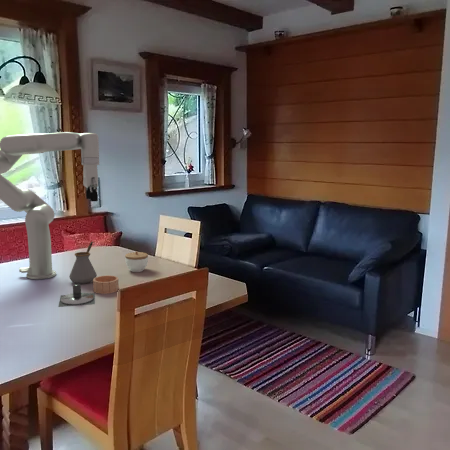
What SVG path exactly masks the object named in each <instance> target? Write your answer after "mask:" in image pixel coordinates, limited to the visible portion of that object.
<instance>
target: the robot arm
mask: <svg viewBox="0 0 450 450" xmlns="http://www.w3.org/2000/svg"><path fill="white" fill-rule="evenodd" d="M99 149H100V147H99V135H98V134H97V133H94V132H93V133H92V132H83V133H78V132H73V131H71V132H70V131H64V132H63V131H62V132H52V133H51V132H50V133H49V132H48V133H40V132H39V133H28V134H27V133H26V134H25V133H23V134H12V135H11V134H10V135H6V136H3V137H2V138H1V139H0V201H1V202H3V203H4V205H6V206H8V208H10V209H11V210H13V211H14V212H16V213H17V212H19V213H20V212H25V213H26V215H25V218H24V223H25V227H26V235H27V246H28V259H29V260H28V261H29V265H28V266H27V267H19V268H18V269H19V271H18V272H19V273H21V274H25V273H26V275H25V276H26V278H27V279H31V280H45V279H51V278H53V277H55V276H56V275H57V272H56V271H55V270H54V269H53V258H52V257H53V256H52V240H51V239H52V237H51V231H50V226H49V225H50V224H51V223H52V222H54V219H55V211H54V209H53V208H52V207H51V206H50V205H49V203H48V202H46V201H44V200H43V199H42V198H41V197H40V196H39V195H38V194H37V193H35V192H34V191H32V190H30V189H27V188H21V189H20V188H18V187H17V186H16V185H15V184H14V183H13V182H11V181H10V179H8V178H6V177H4V176H3V175H4V174H5V173H7V172H9V171H10V170H11V169H12V168H13V166H14V165H15V164H16V163H17V162H18V161H19V160H20V159H21V158H22V156H23V155H34V154H37V155H38V154H43V153H44V154H45V153H48V152H59V151H73V150H74V151H75V150H80V154H81V156H80V157H81V165H82V166H83V169H82V171H83V173H82V174H83V177H82V178H83V179H82V180H83V182H82V183H83V184H82V185H83V186H84V187H85V197H86V200H89V201H90V202H98V200H99V198H98V197H99V196H98V195H99V192H98V187H99V174H98V166H100V150H99Z"/></svg>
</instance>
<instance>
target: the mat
mask: <svg viewBox="0 0 450 450" xmlns="http://www.w3.org/2000/svg"><path fill="white" fill-rule="evenodd" d="M88 293H89V292H88ZM95 293H96V292H90V293H89V294H92V295H93V298H94V299H93V300H92V301H91V302H88V303H85V304H80V305H79V306H87V305H88V306H89V305H90V306H91V305H95V304H96V294H95ZM65 295H66V294H62V295H60V297H59V302H58V308H60V307H61V308H62V307H64V308H65V307H74V306H78V305H67V304H63V303H62V302H61V298H62V297H63V296H65Z"/></svg>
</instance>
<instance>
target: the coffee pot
mask: <svg viewBox="0 0 450 450" xmlns="http://www.w3.org/2000/svg"><path fill="white" fill-rule="evenodd" d="M94 245H96V243H95V242H94V241H91V242H89V245H88V247H87V250H86V251H79V252H75V253H74V256H75V257H76V258H75V262H74V264H73V266H72V268H71V270H70V274H69V279H70V280H71V282H73V284H81V285H85V284H93V279H94V278H96V277H98V275H97V272H96V270H95V269H94V266H93V264H92V261H91V259H90V255H91V253H90V250H91V248H92V246H94Z"/></svg>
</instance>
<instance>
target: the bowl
mask: <svg viewBox="0 0 450 450" xmlns="http://www.w3.org/2000/svg"><path fill="white" fill-rule="evenodd" d="M92 284H93V285H92V286H93V287H92V288H93V293H96V294H101V295H102V294H103V295H104V294H105V295H106V294H112V293H116V292H118V291H119V290H120V289H119V277H118V276H116V275H109V274H107V275H99V276H96V278H94V279H93V282H92Z"/></svg>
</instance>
